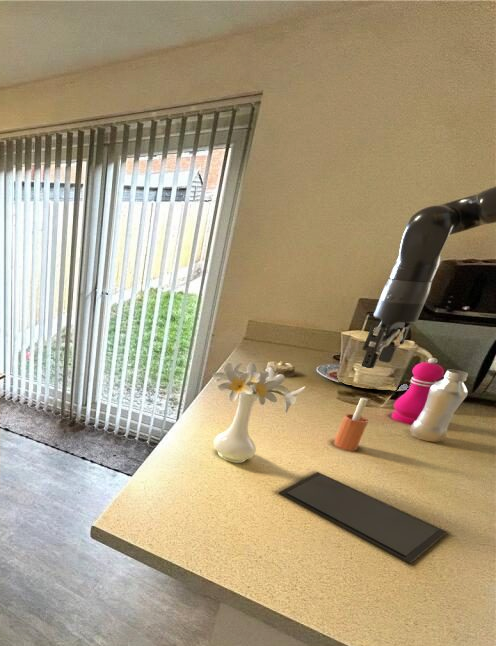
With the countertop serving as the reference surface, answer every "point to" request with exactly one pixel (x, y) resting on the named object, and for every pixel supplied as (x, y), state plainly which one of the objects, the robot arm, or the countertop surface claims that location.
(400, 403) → the pepper mill
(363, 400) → the stylus
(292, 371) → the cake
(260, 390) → the flower vase
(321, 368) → the ceramic plate
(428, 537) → the tablet
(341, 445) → the pen cup
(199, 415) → the countertop surface
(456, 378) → the plastic bottle
